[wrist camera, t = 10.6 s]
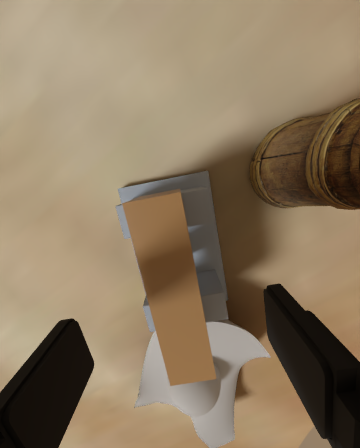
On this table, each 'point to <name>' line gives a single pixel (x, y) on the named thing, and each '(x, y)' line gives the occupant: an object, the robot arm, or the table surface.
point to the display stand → (199, 237)
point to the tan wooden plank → (171, 284)
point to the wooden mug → (311, 161)
